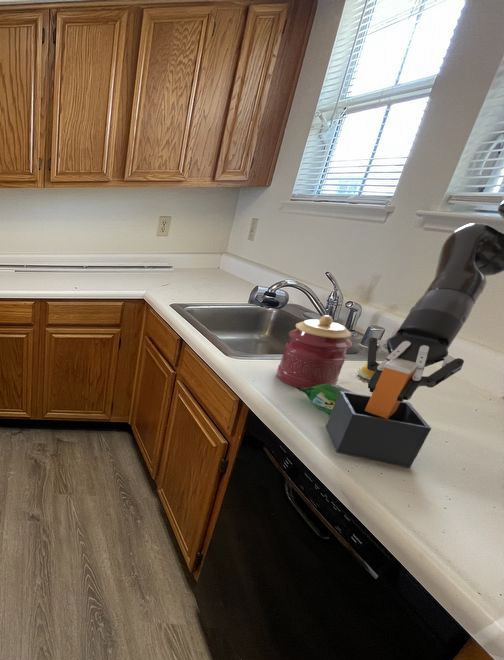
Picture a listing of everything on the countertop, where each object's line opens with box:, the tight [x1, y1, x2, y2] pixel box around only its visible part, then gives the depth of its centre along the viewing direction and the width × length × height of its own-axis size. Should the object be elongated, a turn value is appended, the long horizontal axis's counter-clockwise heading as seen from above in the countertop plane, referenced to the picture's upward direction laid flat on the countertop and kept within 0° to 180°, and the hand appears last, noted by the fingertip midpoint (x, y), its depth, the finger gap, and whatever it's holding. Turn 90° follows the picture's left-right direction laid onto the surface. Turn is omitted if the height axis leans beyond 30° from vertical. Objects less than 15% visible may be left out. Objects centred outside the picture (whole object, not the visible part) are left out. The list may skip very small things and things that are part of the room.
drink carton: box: [365, 358, 418, 419], centre depth 77 cm, size 4×5×10 cm
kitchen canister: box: [276, 314, 353, 389], centre depth 104 cm, size 13×13×18 cm
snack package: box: [298, 384, 357, 415], centre depth 93 cm, size 7×16×5 cm, turn 21°
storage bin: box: [325, 391, 432, 469], centre depth 81 cm, size 11×10×9 cm
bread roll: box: [357, 361, 382, 381], centre depth 109 cm, size 8×9×4 cm
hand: (385, 394), depth 76 cm, fingers closed on drink carton, 3 cm apart
